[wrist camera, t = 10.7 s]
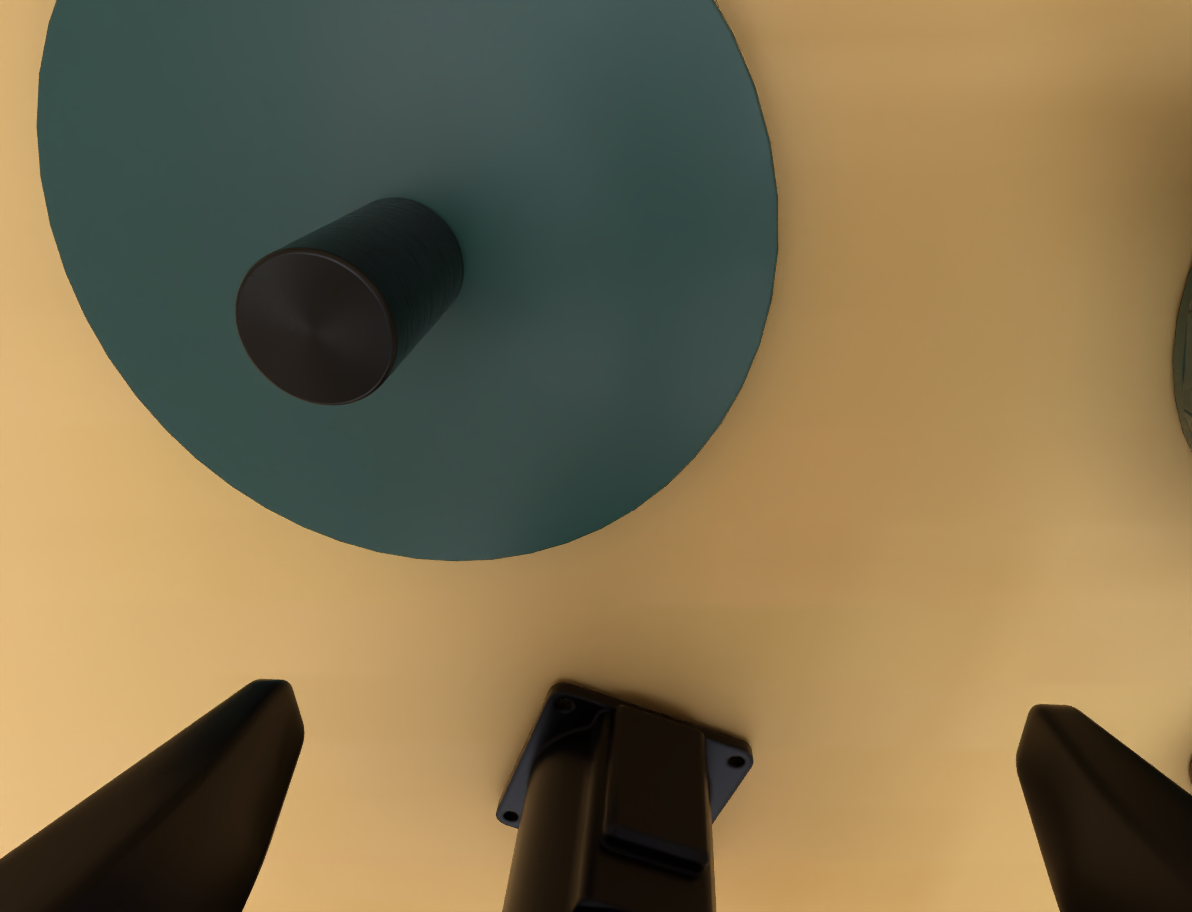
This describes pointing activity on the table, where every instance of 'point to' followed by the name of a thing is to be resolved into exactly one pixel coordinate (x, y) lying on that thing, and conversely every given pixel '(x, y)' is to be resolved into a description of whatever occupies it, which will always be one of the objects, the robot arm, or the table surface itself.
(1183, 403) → the pot
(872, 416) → the table surface
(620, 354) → the pot lid
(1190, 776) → the cake
